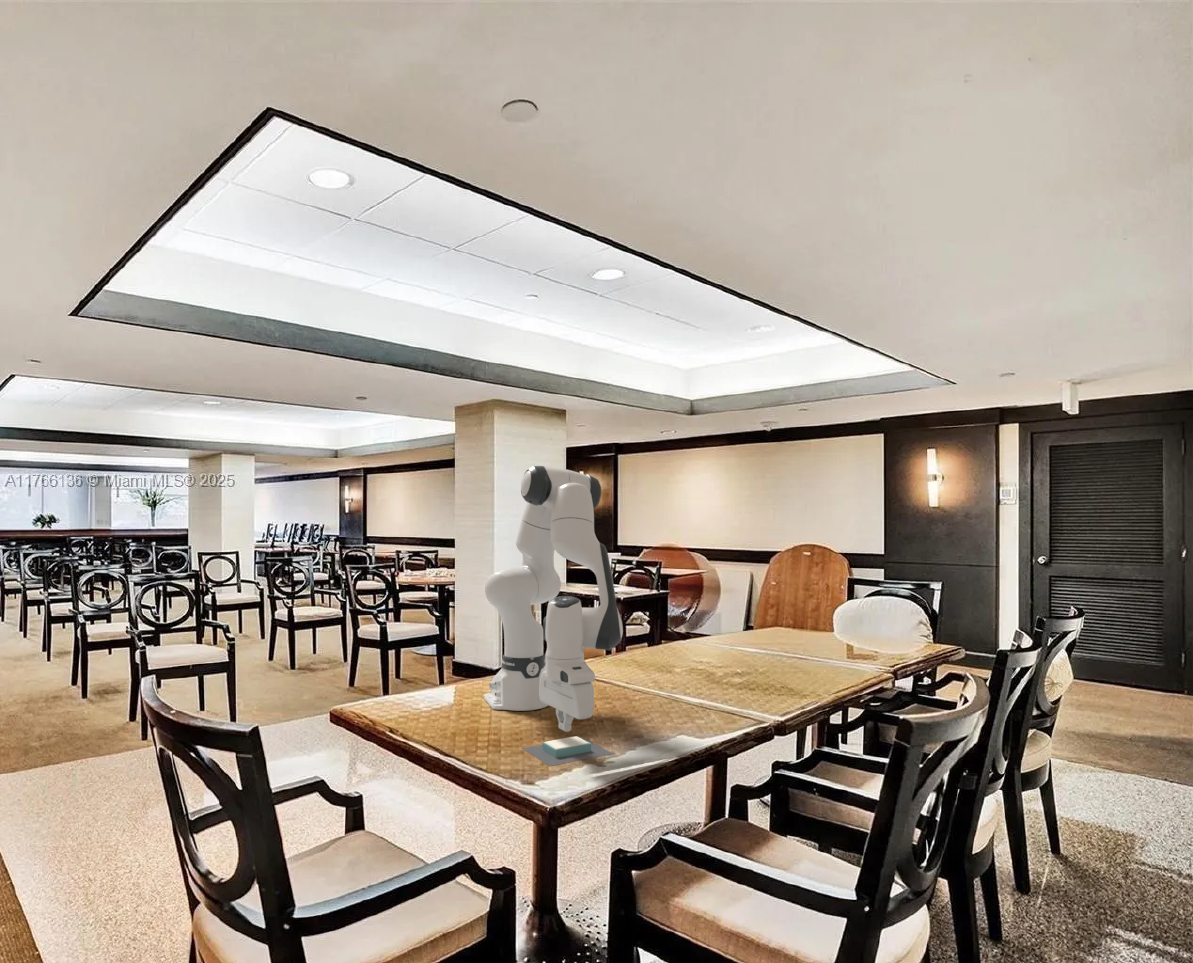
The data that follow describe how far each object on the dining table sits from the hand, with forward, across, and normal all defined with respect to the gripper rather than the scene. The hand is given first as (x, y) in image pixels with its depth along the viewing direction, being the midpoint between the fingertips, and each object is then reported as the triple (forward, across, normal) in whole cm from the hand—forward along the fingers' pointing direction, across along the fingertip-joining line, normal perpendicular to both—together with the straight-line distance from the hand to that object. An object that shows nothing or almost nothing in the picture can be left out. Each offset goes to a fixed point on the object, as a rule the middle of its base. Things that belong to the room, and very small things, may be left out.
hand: (564, 730), depth 173 cm
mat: (+5, +1, 0) cm, 5 cm away
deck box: (+4, -2, 0) cm, 4 cm away
